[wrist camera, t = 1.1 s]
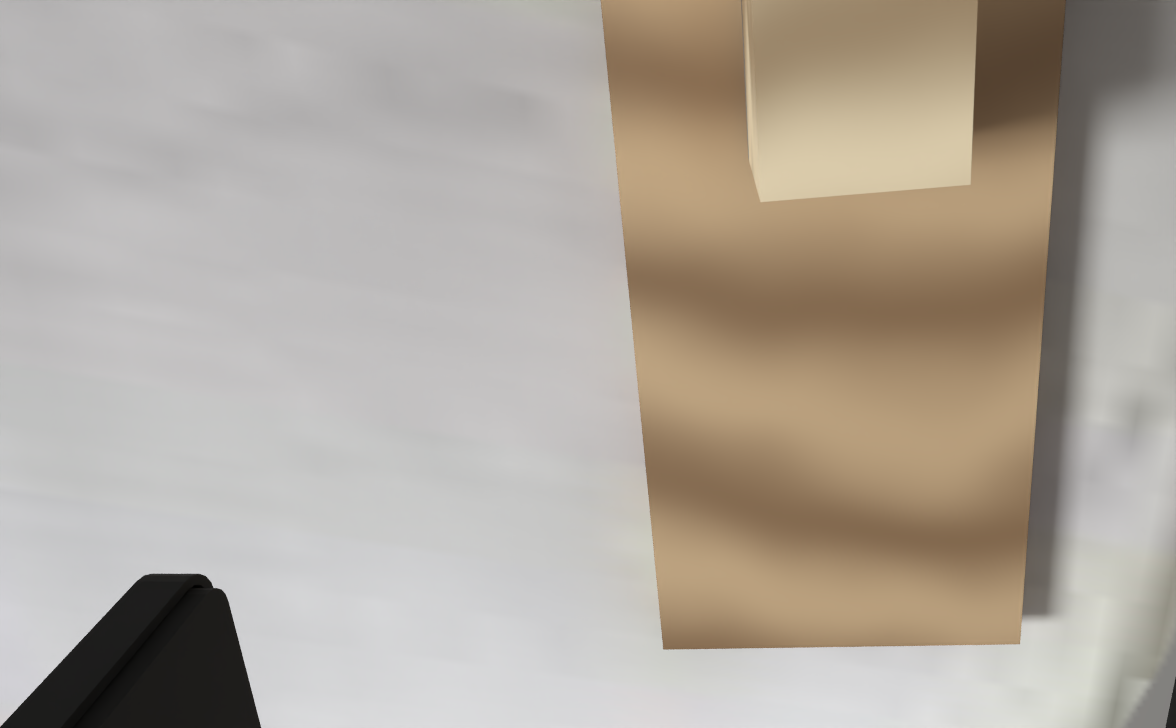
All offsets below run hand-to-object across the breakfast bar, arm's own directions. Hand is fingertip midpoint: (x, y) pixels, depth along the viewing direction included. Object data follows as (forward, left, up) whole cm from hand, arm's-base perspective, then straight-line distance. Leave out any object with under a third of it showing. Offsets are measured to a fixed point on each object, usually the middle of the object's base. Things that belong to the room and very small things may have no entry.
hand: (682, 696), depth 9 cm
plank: (+2, +4, -21) cm, 22 cm away
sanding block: (-6, +4, -20) cm, 21 cm away
